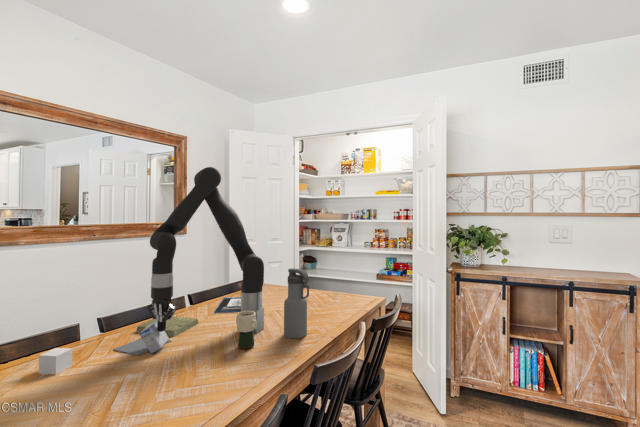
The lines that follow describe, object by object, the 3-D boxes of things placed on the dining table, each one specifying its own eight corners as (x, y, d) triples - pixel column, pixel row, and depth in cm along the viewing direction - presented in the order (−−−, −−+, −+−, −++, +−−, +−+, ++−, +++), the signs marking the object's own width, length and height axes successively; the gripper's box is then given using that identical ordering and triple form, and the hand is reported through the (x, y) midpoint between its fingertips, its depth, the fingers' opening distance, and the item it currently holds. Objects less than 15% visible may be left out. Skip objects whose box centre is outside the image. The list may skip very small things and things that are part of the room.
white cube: (55, 365, 110) (56, 347, 110) (72, 366, 109) (72, 348, 109) (38, 374, 104) (38, 355, 104) (55, 375, 103) (56, 356, 103)
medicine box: (159, 344, 127) (147, 325, 126) (169, 338, 127) (158, 319, 127) (150, 354, 119) (138, 334, 118) (161, 348, 119) (149, 328, 119)
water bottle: (311, 333, 142) (312, 268, 142) (300, 340, 133) (301, 271, 133) (291, 329, 146) (291, 267, 146) (279, 336, 137) (280, 270, 137)
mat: (171, 341, 131) (171, 340, 131) (137, 355, 118) (137, 354, 118) (147, 336, 136) (147, 335, 136) (113, 350, 122) (113, 349, 122)
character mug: (262, 347, 126) (263, 313, 126) (249, 353, 120) (249, 318, 120) (243, 341, 132) (243, 308, 132) (229, 346, 126) (229, 313, 127)
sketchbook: (213, 314, 170) (213, 310, 170) (224, 300, 200) (224, 296, 200) (255, 313, 173) (255, 309, 173) (259, 299, 203) (259, 295, 203)
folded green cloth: (161, 321, 158) (161, 314, 158) (199, 324, 154) (199, 317, 154) (131, 335, 140) (132, 326, 140) (173, 338, 136) (173, 330, 136)
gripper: (183, 284, 124) (182, 330, 124) (157, 281, 129) (156, 325, 129) (167, 288, 117) (166, 336, 117) (140, 285, 122) (140, 331, 122)
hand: (161, 330), depth 123 cm, fingers closed
